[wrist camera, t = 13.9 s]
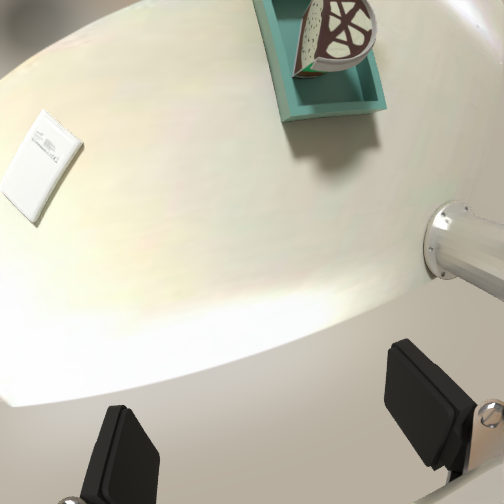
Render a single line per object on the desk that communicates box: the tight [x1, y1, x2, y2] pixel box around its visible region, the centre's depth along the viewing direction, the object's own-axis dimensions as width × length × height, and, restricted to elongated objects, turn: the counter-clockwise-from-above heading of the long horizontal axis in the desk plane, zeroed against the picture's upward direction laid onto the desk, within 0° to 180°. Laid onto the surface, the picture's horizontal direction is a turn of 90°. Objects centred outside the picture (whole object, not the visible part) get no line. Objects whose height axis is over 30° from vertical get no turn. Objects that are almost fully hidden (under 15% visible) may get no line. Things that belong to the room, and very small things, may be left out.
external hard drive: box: [0, 110, 83, 223], centre depth 31 cm, size 2×8×12 cm
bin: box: [253, 0, 387, 122], centre depth 29 cm, size 12×18×4 cm, turn 11°
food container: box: [292, 0, 377, 79], centre depth 26 cm, size 12×6×10 cm, turn 171°
